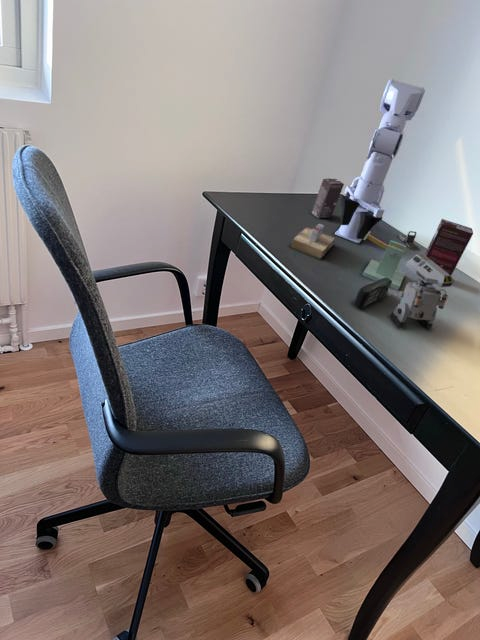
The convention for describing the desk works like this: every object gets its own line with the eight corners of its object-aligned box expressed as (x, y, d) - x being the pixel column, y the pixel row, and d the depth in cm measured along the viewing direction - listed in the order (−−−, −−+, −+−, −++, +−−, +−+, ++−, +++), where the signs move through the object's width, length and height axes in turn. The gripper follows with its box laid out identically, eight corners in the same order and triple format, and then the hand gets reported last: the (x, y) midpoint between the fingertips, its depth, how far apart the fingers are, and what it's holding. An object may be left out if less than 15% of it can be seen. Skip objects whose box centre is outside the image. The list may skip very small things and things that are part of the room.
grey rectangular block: (315, 234, 135) (319, 222, 133) (320, 236, 134) (324, 224, 132) (309, 240, 131) (313, 228, 128) (314, 242, 130) (318, 230, 128)
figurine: (409, 305, 117) (436, 252, 109) (433, 333, 108) (465, 278, 100) (378, 303, 115) (402, 248, 106) (400, 332, 106) (429, 275, 97)
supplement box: (446, 277, 137) (473, 228, 128) (446, 284, 133) (474, 233, 124) (417, 267, 138) (441, 217, 129) (416, 274, 134) (442, 223, 125)
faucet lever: (360, 241, 124) (365, 233, 122) (364, 235, 128) (369, 227, 127) (394, 261, 122) (399, 254, 121) (398, 254, 127) (403, 247, 125)
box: (319, 219, 153) (331, 183, 146) (310, 213, 156) (322, 177, 149) (332, 218, 157) (344, 183, 150) (324, 212, 159) (335, 178, 153)
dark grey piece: (368, 294, 107) (398, 277, 117) (357, 287, 108) (388, 271, 118) (360, 311, 110) (390, 294, 120) (350, 305, 111) (380, 288, 121)
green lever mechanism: (362, 275, 125) (375, 244, 120) (370, 262, 133) (382, 233, 128) (398, 290, 123) (413, 259, 118) (404, 276, 131) (418, 246, 126)
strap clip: (397, 236, 156) (402, 225, 153) (405, 237, 157) (410, 225, 154) (410, 249, 149) (416, 237, 147) (418, 249, 150) (424, 237, 148)
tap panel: (303, 234, 140) (306, 226, 138) (333, 246, 137) (336, 238, 136) (289, 246, 130) (292, 238, 129) (321, 259, 128) (324, 251, 126)
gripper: (342, 168, 118) (325, 218, 125) (375, 191, 107) (354, 244, 115) (365, 170, 121) (347, 219, 128) (398, 193, 110) (377, 244, 118)
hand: (351, 231), depth 122 cm, fingers open, 7 cm apart
